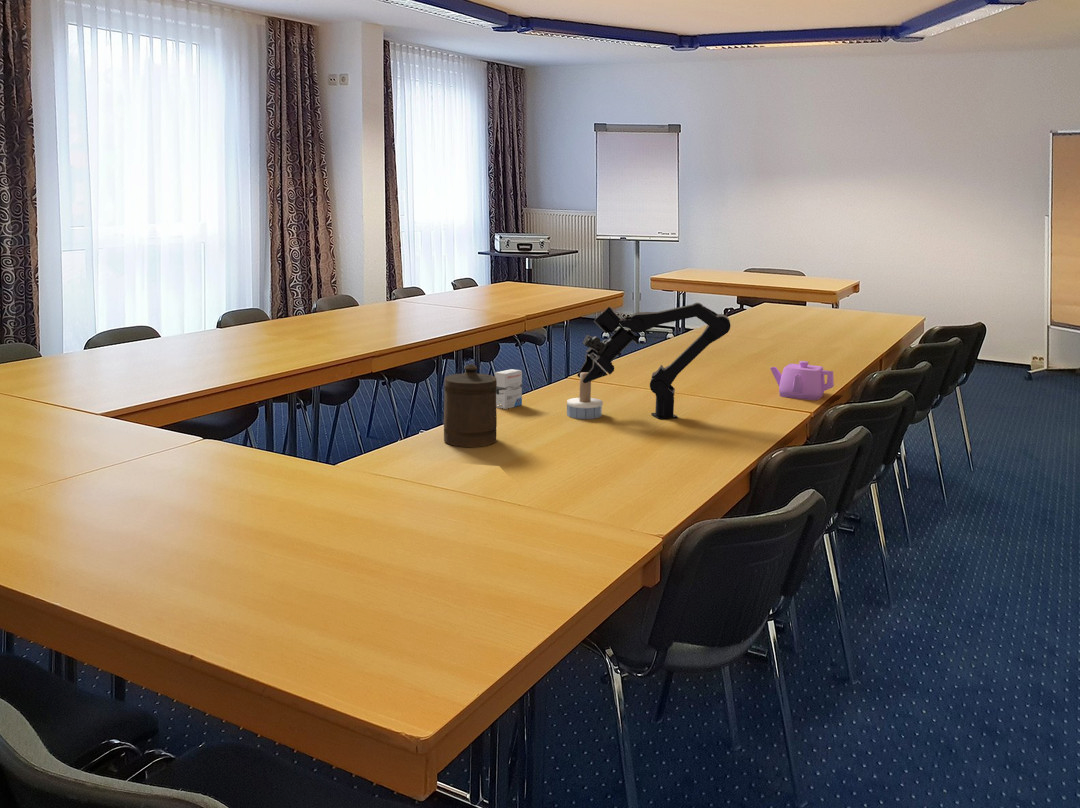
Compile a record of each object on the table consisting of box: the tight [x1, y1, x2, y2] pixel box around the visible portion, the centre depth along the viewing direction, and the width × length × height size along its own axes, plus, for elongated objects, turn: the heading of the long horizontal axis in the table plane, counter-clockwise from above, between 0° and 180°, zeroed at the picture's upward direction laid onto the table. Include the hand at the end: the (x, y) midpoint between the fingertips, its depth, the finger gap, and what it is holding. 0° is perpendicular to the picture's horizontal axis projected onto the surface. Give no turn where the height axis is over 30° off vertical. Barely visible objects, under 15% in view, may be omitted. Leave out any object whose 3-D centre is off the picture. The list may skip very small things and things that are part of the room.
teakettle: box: [769, 360, 835, 401], centre depth 335 cm, size 17×17×12 cm
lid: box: [566, 372, 604, 408], centre depth 301 cm, size 11×11×10 cm
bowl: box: [566, 404, 603, 420], centre depth 302 cm, size 11×11×4 cm
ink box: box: [494, 368, 523, 410], centre depth 312 cm, size 8×5×12 cm, turn 141°
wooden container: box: [443, 363, 498, 448], centre depth 268 cm, size 15×15×22 cm
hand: (580, 379), depth 300 cm, fingers open, 9 cm apart
